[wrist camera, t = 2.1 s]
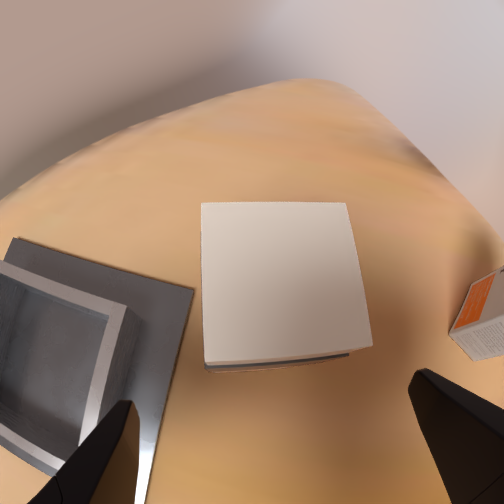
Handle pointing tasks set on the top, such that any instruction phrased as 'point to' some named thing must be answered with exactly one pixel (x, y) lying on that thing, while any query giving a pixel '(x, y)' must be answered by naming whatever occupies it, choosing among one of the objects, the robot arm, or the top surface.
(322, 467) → the top surface
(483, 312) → the skincare box
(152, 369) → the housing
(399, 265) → the top surface
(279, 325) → the plug
